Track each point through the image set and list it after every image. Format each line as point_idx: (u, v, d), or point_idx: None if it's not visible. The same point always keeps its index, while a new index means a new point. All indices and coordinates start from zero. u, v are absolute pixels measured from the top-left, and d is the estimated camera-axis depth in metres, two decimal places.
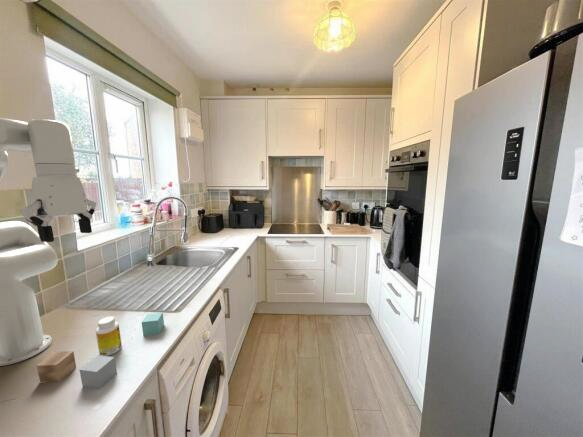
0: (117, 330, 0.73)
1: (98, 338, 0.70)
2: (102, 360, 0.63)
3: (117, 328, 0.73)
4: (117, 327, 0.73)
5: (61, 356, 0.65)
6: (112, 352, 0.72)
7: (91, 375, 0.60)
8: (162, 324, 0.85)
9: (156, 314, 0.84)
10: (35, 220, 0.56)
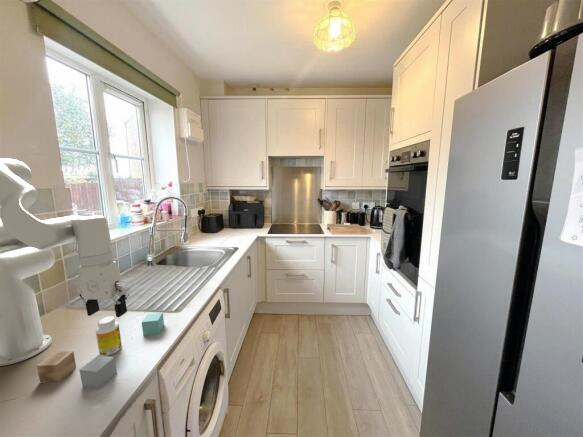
0: (117, 330, 0.73)
1: (98, 338, 0.70)
2: (102, 360, 0.63)
3: (117, 328, 0.73)
4: (117, 327, 0.73)
5: (61, 356, 0.65)
6: (112, 352, 0.72)
7: (91, 375, 0.60)
8: (162, 324, 0.85)
9: (156, 314, 0.84)
10: None
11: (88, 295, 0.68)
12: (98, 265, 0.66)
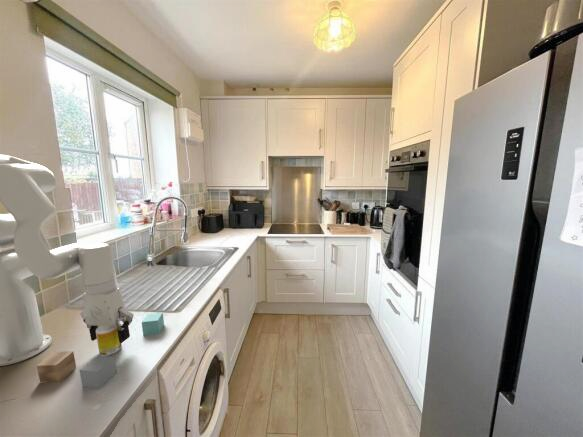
0: (117, 330, 0.73)
1: (98, 338, 0.70)
2: (102, 360, 0.63)
3: (117, 328, 0.73)
4: None
5: (61, 356, 0.65)
6: (112, 352, 0.72)
7: (91, 375, 0.60)
8: (162, 324, 0.85)
9: (156, 314, 0.84)
10: None
11: (92, 322, 0.69)
12: (102, 293, 0.68)
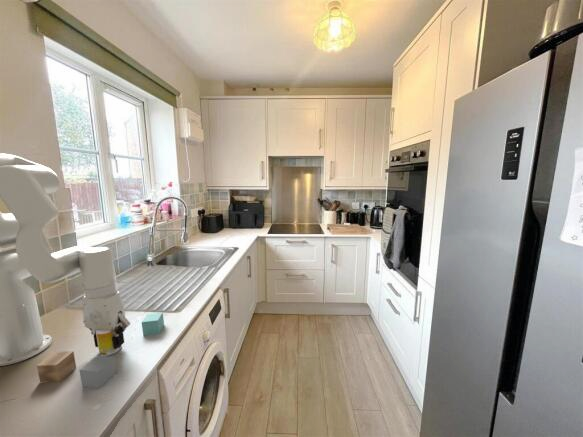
0: None
1: (98, 338, 0.70)
2: (102, 360, 0.63)
3: (117, 328, 0.73)
4: (117, 327, 0.73)
5: (61, 356, 0.65)
6: (112, 352, 0.72)
7: (91, 375, 0.60)
8: (162, 324, 0.85)
9: (156, 314, 0.84)
10: None
11: (91, 325, 0.70)
12: (102, 297, 0.68)
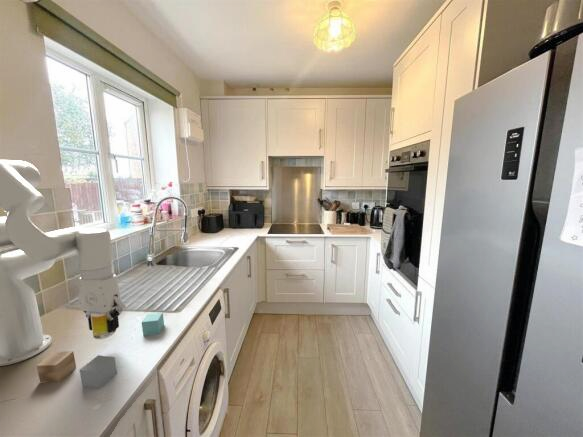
0: None
1: (93, 321, 0.69)
2: (102, 360, 0.63)
3: (112, 312, 0.72)
4: (112, 311, 0.72)
5: (61, 356, 0.65)
6: (106, 336, 0.71)
7: (91, 375, 0.60)
8: (162, 324, 0.85)
9: (156, 314, 0.84)
10: None
11: (86, 307, 0.69)
12: (98, 279, 0.67)
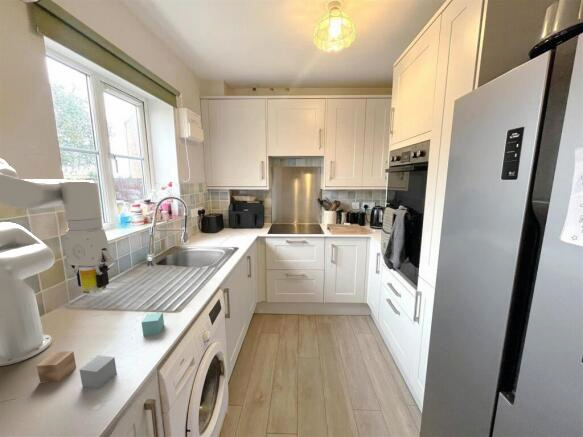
0: None
1: (81, 275, 0.67)
2: (102, 360, 0.63)
3: (101, 267, 0.70)
4: (101, 266, 0.70)
5: (61, 356, 0.65)
6: (96, 291, 0.69)
7: (91, 375, 0.60)
8: (162, 324, 0.85)
9: (156, 314, 0.84)
10: None
11: (74, 261, 0.67)
12: (85, 230, 0.65)
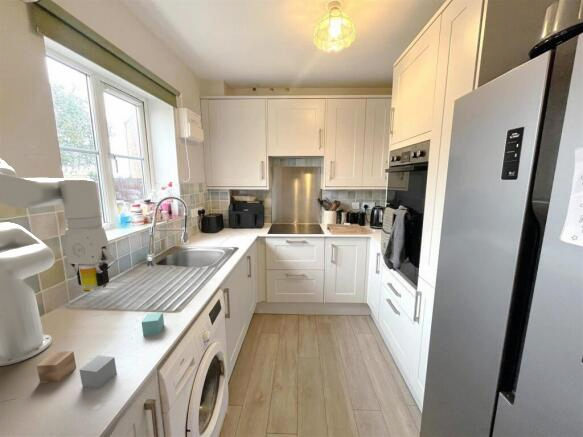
0: None
1: (81, 273, 0.67)
2: (102, 360, 0.63)
3: None
4: (101, 265, 0.70)
5: (61, 356, 0.65)
6: (96, 289, 0.69)
7: (91, 375, 0.60)
8: (162, 324, 0.85)
9: (156, 314, 0.84)
10: None
11: (74, 259, 0.67)
12: (85, 228, 0.65)
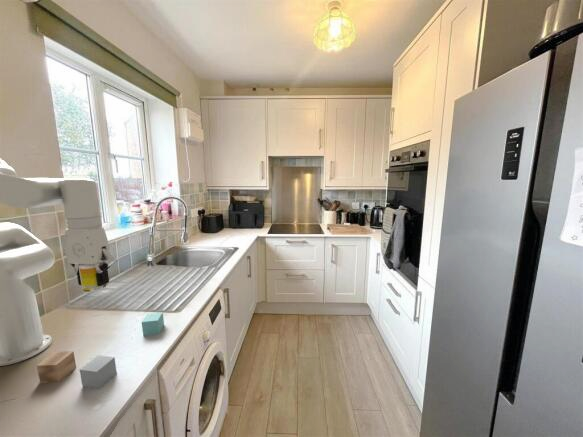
0: None
1: (81, 273, 0.67)
2: (102, 360, 0.63)
3: None
4: (101, 265, 0.70)
5: (61, 356, 0.65)
6: (96, 289, 0.69)
7: (91, 375, 0.60)
8: (162, 324, 0.85)
9: (156, 314, 0.84)
10: None
11: (74, 259, 0.67)
12: (85, 228, 0.65)
